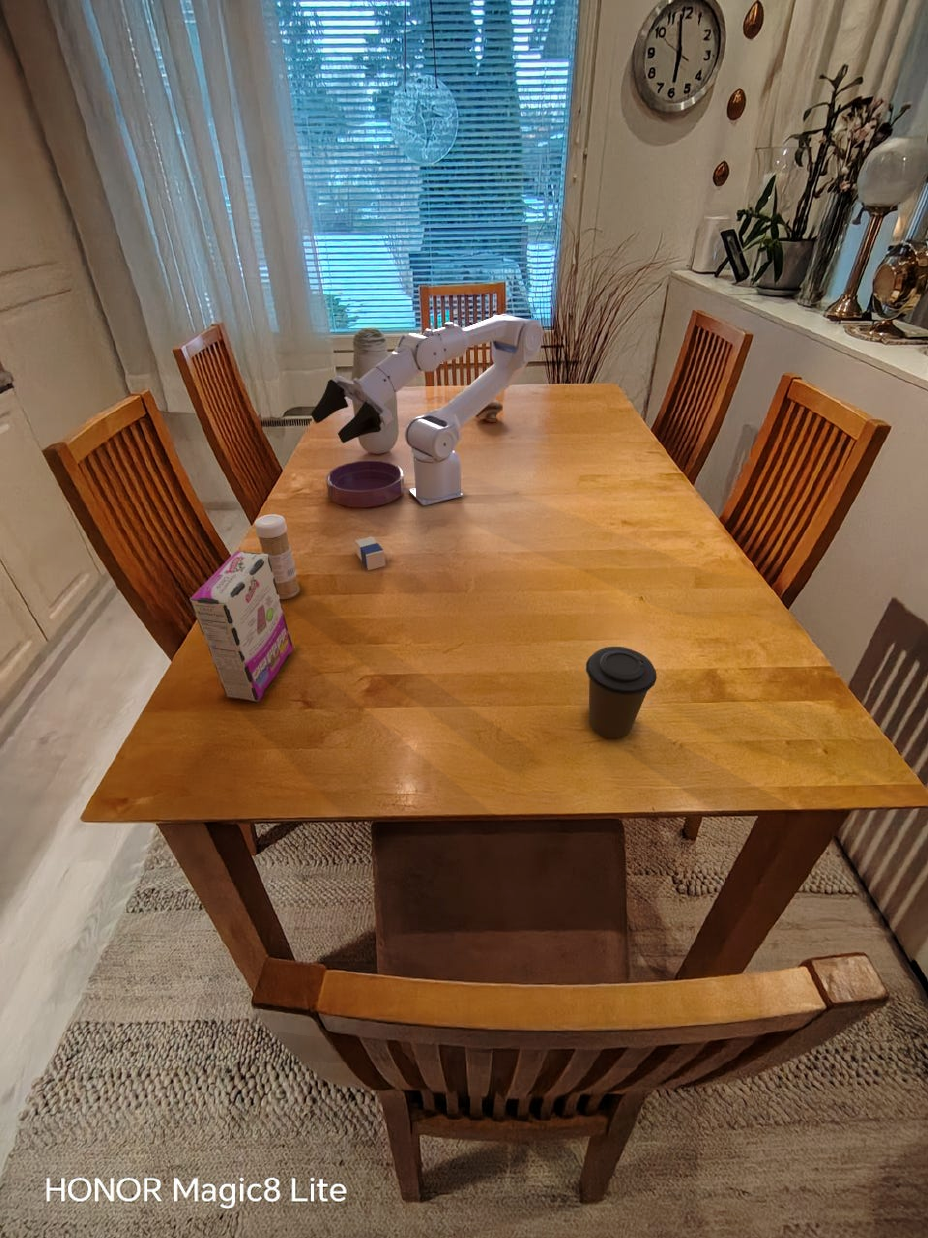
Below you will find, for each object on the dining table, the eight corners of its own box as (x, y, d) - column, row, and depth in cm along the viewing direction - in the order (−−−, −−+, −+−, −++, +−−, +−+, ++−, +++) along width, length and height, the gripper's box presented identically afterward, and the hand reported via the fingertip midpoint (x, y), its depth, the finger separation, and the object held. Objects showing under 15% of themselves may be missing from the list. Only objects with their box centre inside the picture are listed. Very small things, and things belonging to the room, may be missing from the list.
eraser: (356, 555, 107) (354, 540, 105) (373, 550, 108) (372, 535, 106) (368, 570, 103) (366, 555, 101) (385, 565, 104) (384, 550, 102)
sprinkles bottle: (286, 582, 100) (270, 510, 92) (306, 590, 98) (291, 517, 90) (266, 595, 97) (247, 522, 89) (285, 603, 95) (268, 529, 87)
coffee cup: (657, 728, 73) (673, 668, 67) (611, 758, 69) (624, 697, 63) (608, 690, 78) (620, 632, 72) (564, 717, 75) (572, 657, 69)
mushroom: (504, 414, 158) (496, 392, 157) (476, 425, 160) (469, 403, 159) (508, 420, 166) (501, 398, 165) (482, 430, 168) (474, 409, 167)
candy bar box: (262, 645, 87) (235, 549, 77) (294, 650, 86) (271, 552, 76) (223, 699, 78) (186, 597, 68) (258, 704, 77) (226, 602, 67)
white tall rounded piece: (383, 462, 141) (371, 335, 124) (351, 453, 145) (335, 330, 129) (408, 448, 148) (399, 326, 131) (376, 441, 152) (364, 322, 135)
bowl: (388, 472, 136) (386, 455, 134) (416, 499, 125) (415, 481, 123) (319, 486, 131) (317, 469, 128) (342, 516, 119) (340, 497, 117)
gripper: (350, 346, 105) (293, 392, 102) (404, 381, 100) (345, 431, 97) (362, 378, 112) (308, 422, 109) (413, 412, 106) (358, 459, 103)
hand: (327, 428), depth 103 cm, fingers open, 7 cm apart
